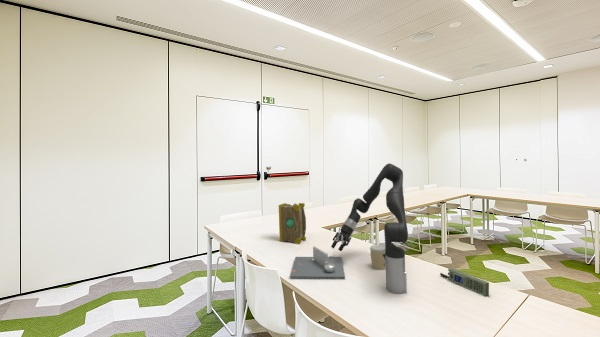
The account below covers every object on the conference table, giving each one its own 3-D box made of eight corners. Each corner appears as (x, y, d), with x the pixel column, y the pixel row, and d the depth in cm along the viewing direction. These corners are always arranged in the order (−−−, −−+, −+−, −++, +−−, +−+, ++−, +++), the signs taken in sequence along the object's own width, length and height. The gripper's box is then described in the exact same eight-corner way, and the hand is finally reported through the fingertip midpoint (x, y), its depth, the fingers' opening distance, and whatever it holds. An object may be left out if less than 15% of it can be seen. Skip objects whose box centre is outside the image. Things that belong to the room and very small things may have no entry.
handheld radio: (485, 297, 130) (438, 277, 153) (489, 296, 132) (442, 276, 154) (485, 283, 130) (438, 264, 153) (490, 281, 131) (442, 263, 154)
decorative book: (278, 241, 224) (277, 204, 223) (285, 237, 234) (284, 201, 233) (300, 244, 215) (299, 205, 214) (307, 240, 225) (306, 203, 224)
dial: (337, 271, 159) (336, 256, 159) (328, 273, 157) (327, 258, 156) (318, 258, 179) (317, 245, 179) (309, 260, 176) (309, 247, 176)
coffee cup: (387, 270, 163) (387, 250, 162) (370, 269, 164) (370, 249, 164) (385, 264, 172) (385, 245, 171) (370, 263, 174) (369, 244, 173)
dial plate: (341, 259, 183) (341, 256, 183) (345, 279, 153) (344, 276, 153) (295, 259, 185) (295, 256, 185) (290, 278, 156) (290, 276, 155)
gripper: (359, 231, 175) (346, 254, 170) (346, 228, 188) (334, 249, 183) (351, 225, 173) (337, 248, 168) (338, 222, 186) (325, 243, 181)
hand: (335, 249), depth 176 cm, fingers open, 8 cm apart
